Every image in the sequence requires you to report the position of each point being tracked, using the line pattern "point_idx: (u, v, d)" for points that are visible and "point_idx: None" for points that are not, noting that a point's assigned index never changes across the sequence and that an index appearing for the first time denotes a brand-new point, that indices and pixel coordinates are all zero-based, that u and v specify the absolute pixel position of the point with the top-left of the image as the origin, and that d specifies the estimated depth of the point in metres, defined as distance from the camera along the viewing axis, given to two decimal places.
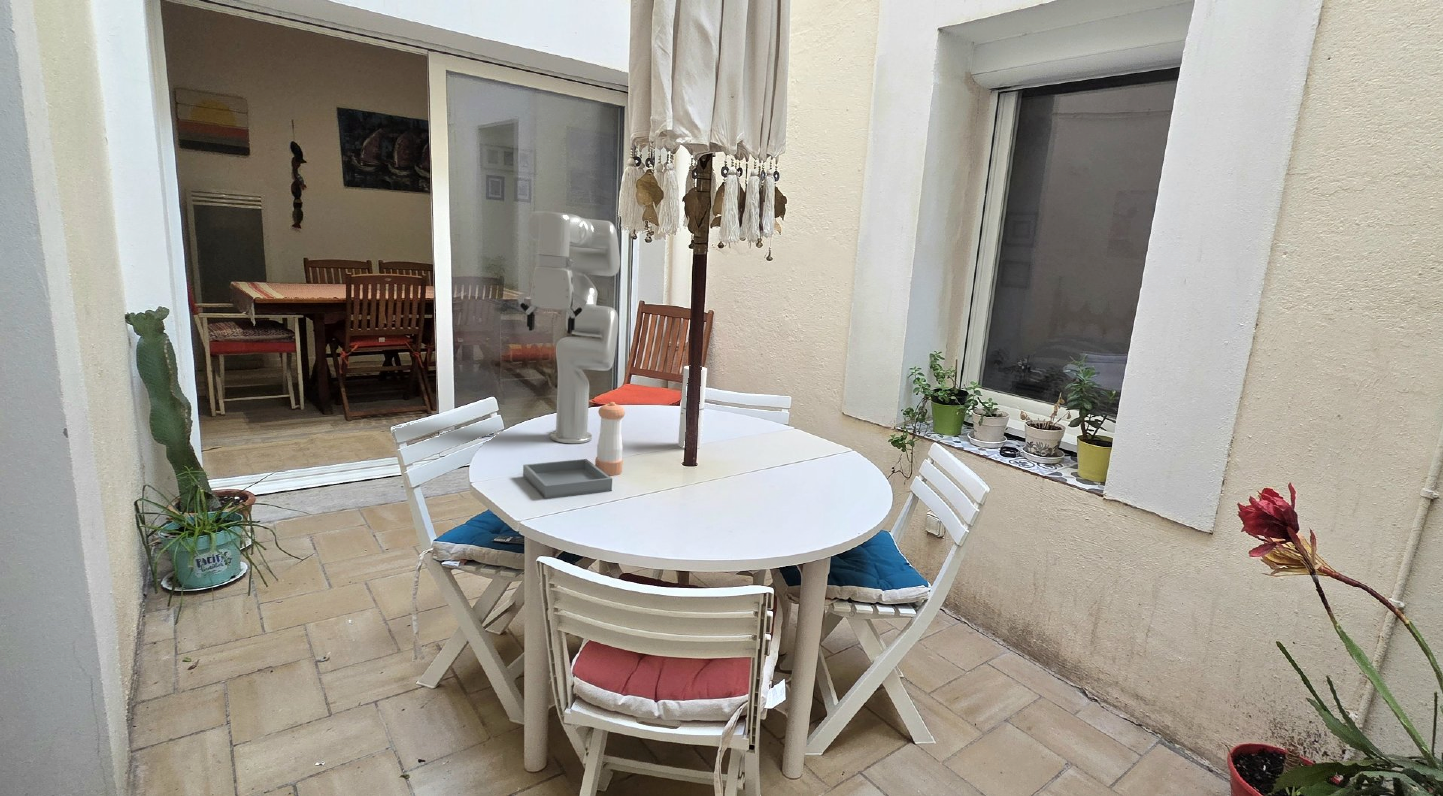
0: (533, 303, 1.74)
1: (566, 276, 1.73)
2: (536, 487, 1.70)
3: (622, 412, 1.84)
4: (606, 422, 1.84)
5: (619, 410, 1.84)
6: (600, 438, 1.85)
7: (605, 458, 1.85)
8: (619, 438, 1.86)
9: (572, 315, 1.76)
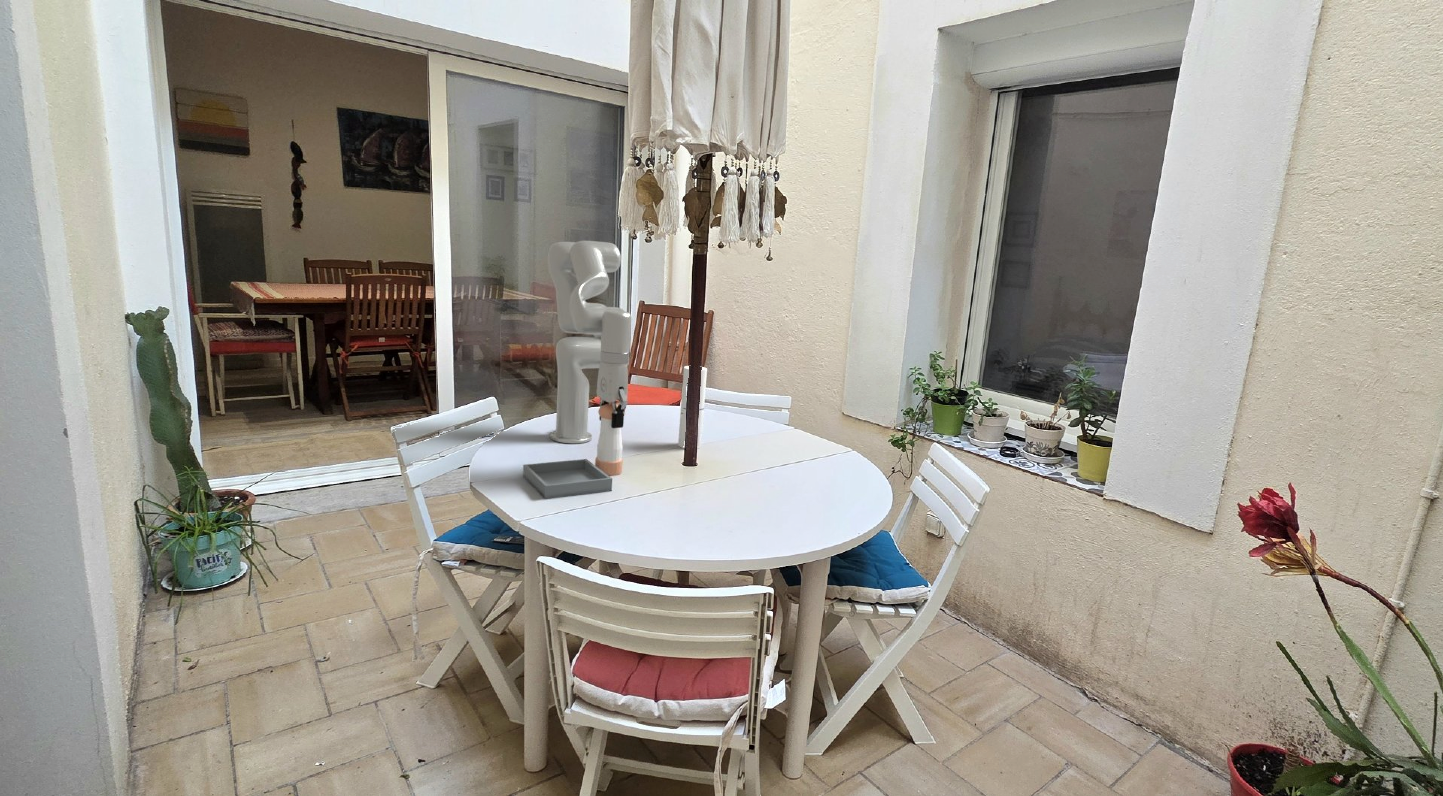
0: None
1: None
2: (536, 487, 1.70)
3: None
4: (606, 422, 1.84)
5: None
6: (600, 438, 1.85)
7: (605, 458, 1.85)
8: (619, 438, 1.86)
9: (609, 402, 1.90)
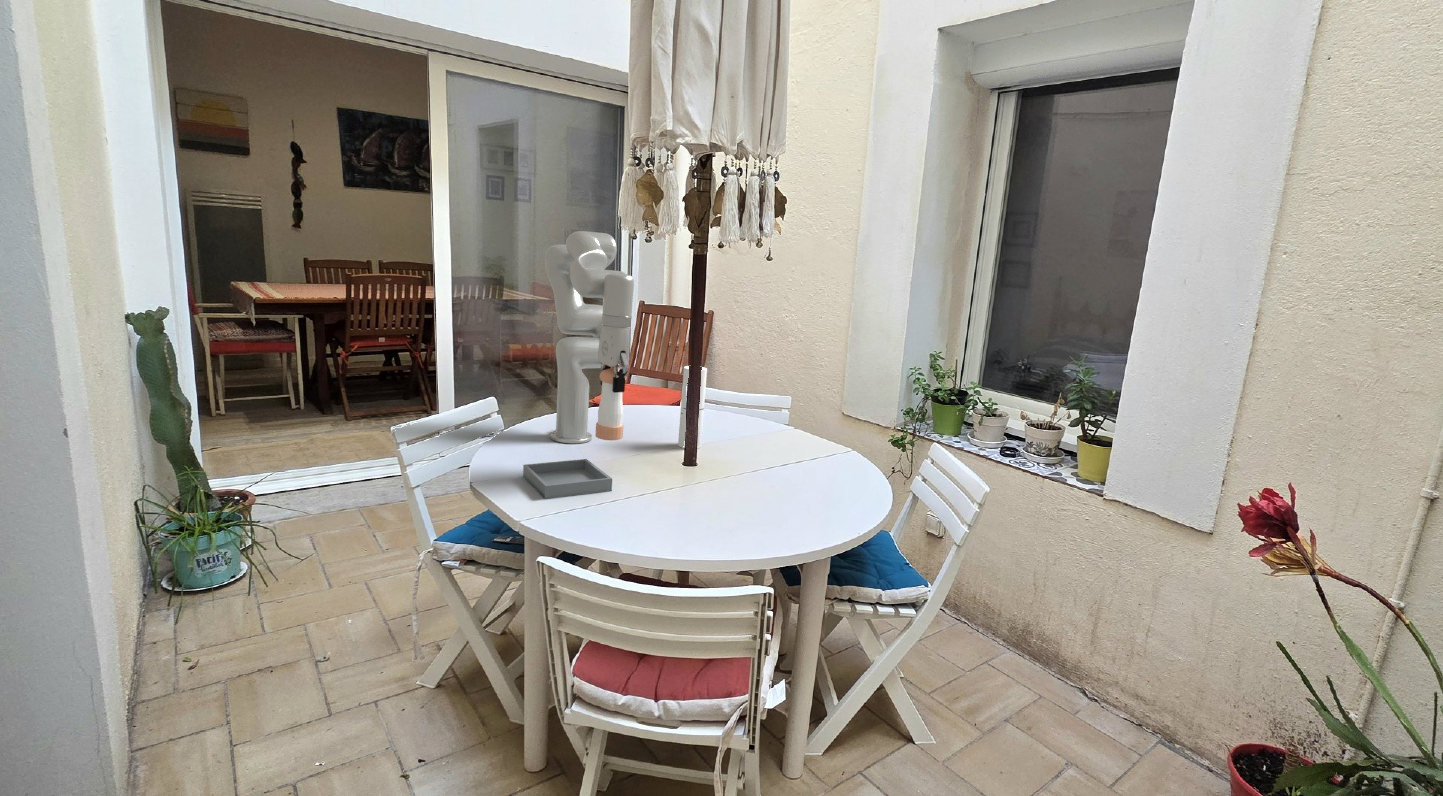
0: None
1: None
2: (536, 487, 1.70)
3: None
4: (607, 386, 1.82)
5: None
6: (601, 403, 1.84)
7: (606, 423, 1.84)
8: (620, 403, 1.85)
9: (610, 367, 1.88)
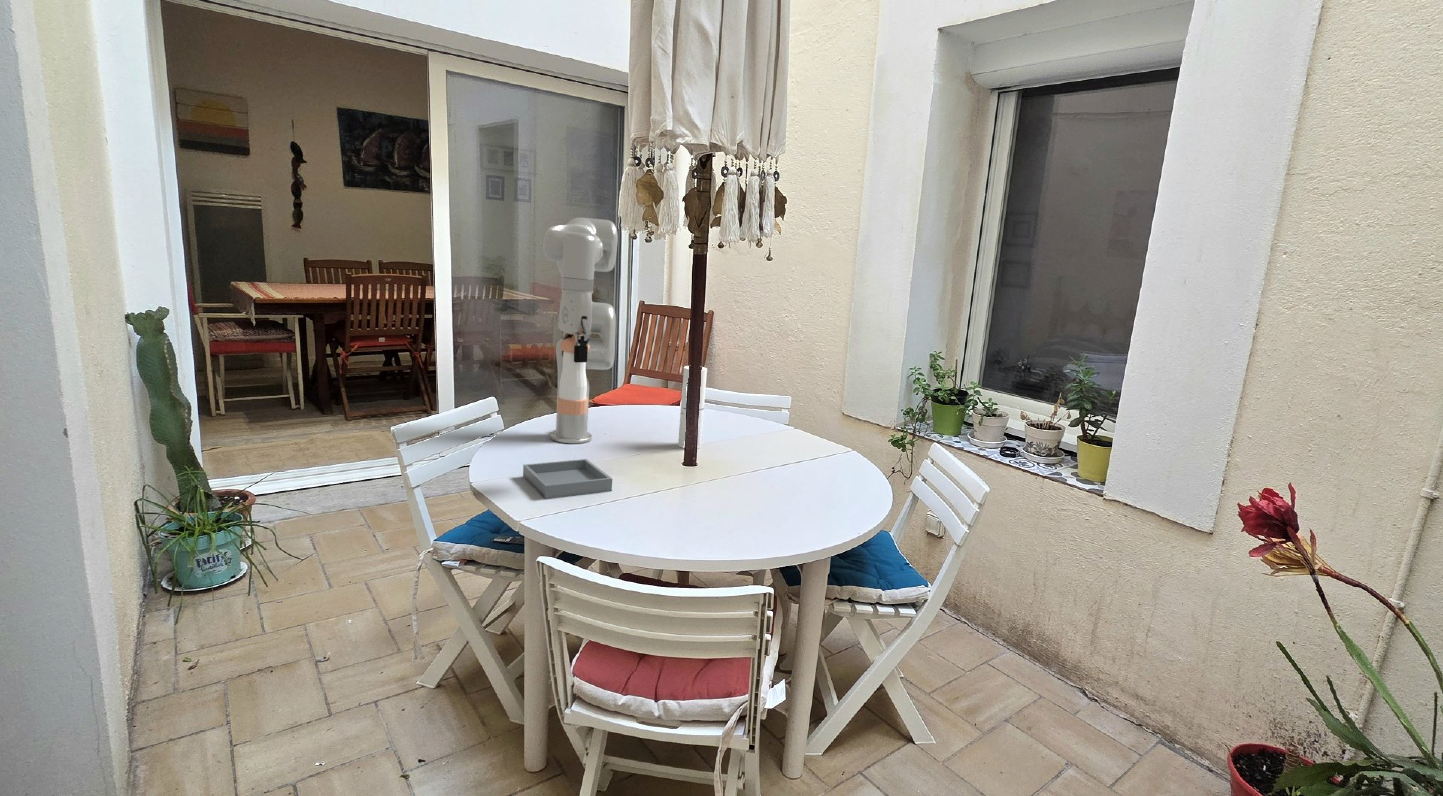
0: None
1: None
2: (536, 487, 1.70)
3: None
4: (569, 356, 1.68)
5: None
6: (562, 374, 1.70)
7: (568, 396, 1.69)
8: (583, 375, 1.70)
9: None
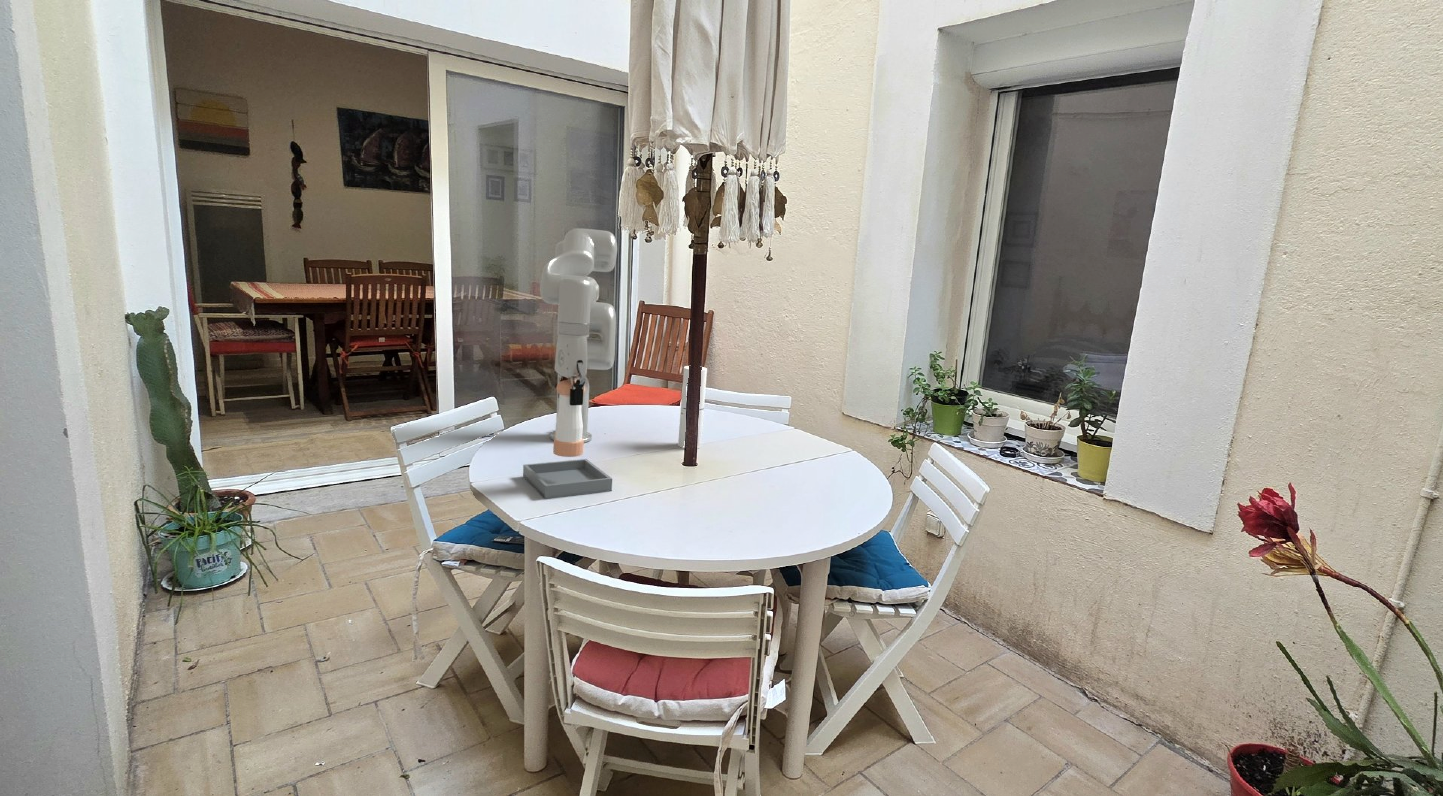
0: None
1: None
2: (536, 487, 1.70)
3: None
4: (564, 399, 1.69)
5: None
6: (558, 417, 1.71)
7: (564, 438, 1.71)
8: (579, 417, 1.72)
9: None
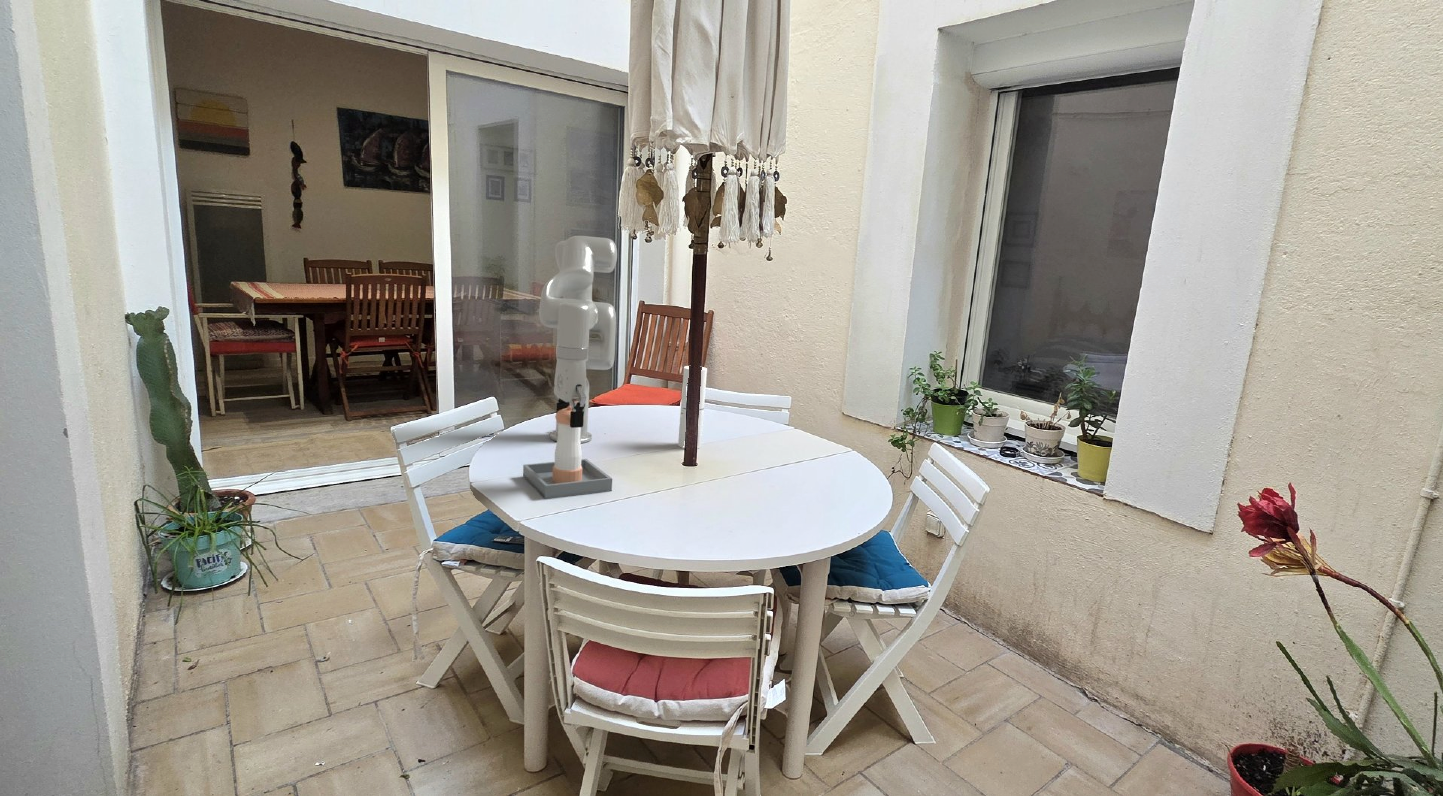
0: None
1: None
2: (536, 487, 1.70)
3: None
4: (563, 428, 1.71)
5: None
6: (557, 445, 1.73)
7: (563, 466, 1.73)
8: (578, 445, 1.74)
9: None
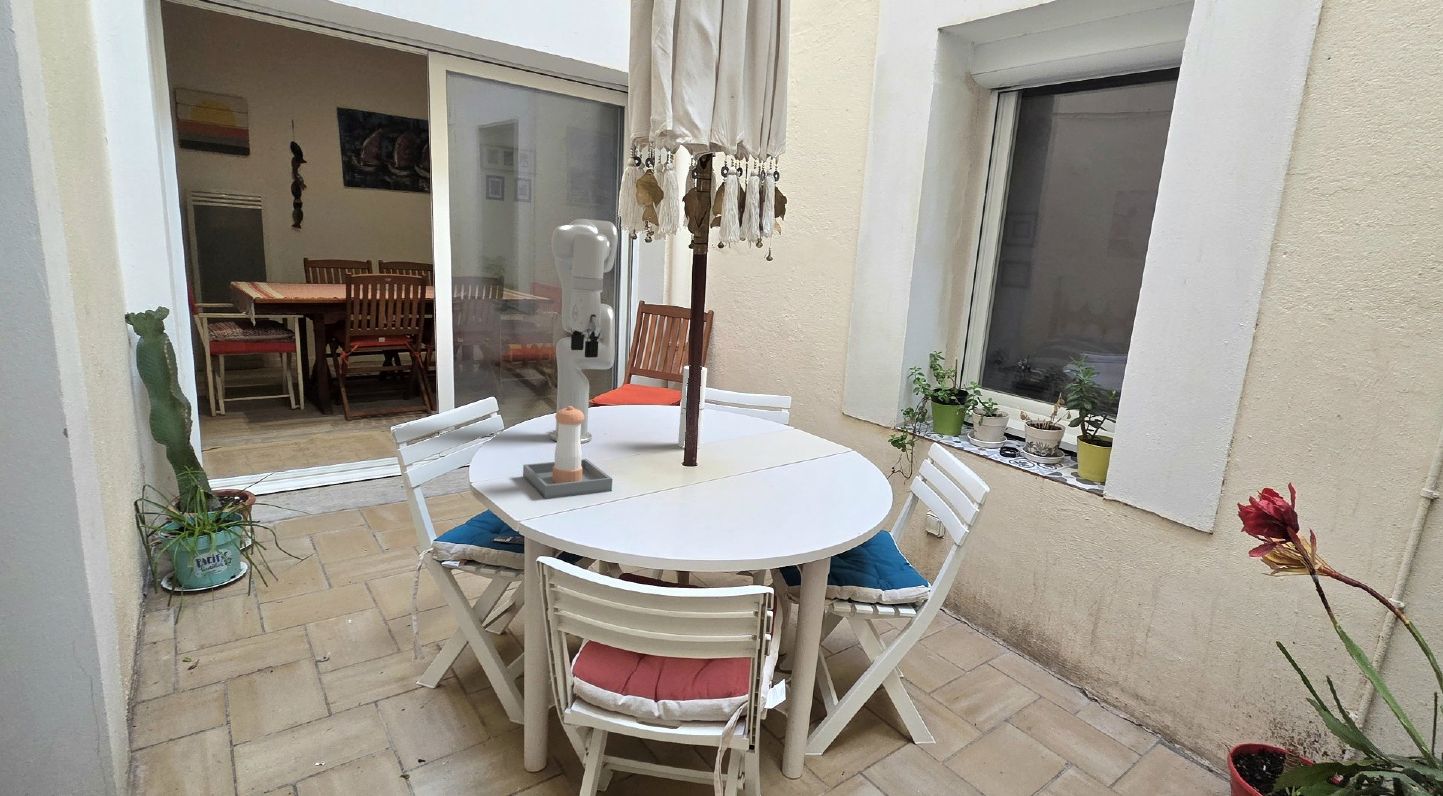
0: None
1: None
2: (536, 487, 1.70)
3: (581, 417, 1.72)
4: (564, 427, 1.71)
5: (577, 415, 1.71)
6: (557, 445, 1.73)
7: (563, 466, 1.73)
8: (578, 445, 1.74)
9: (581, 331, 1.80)
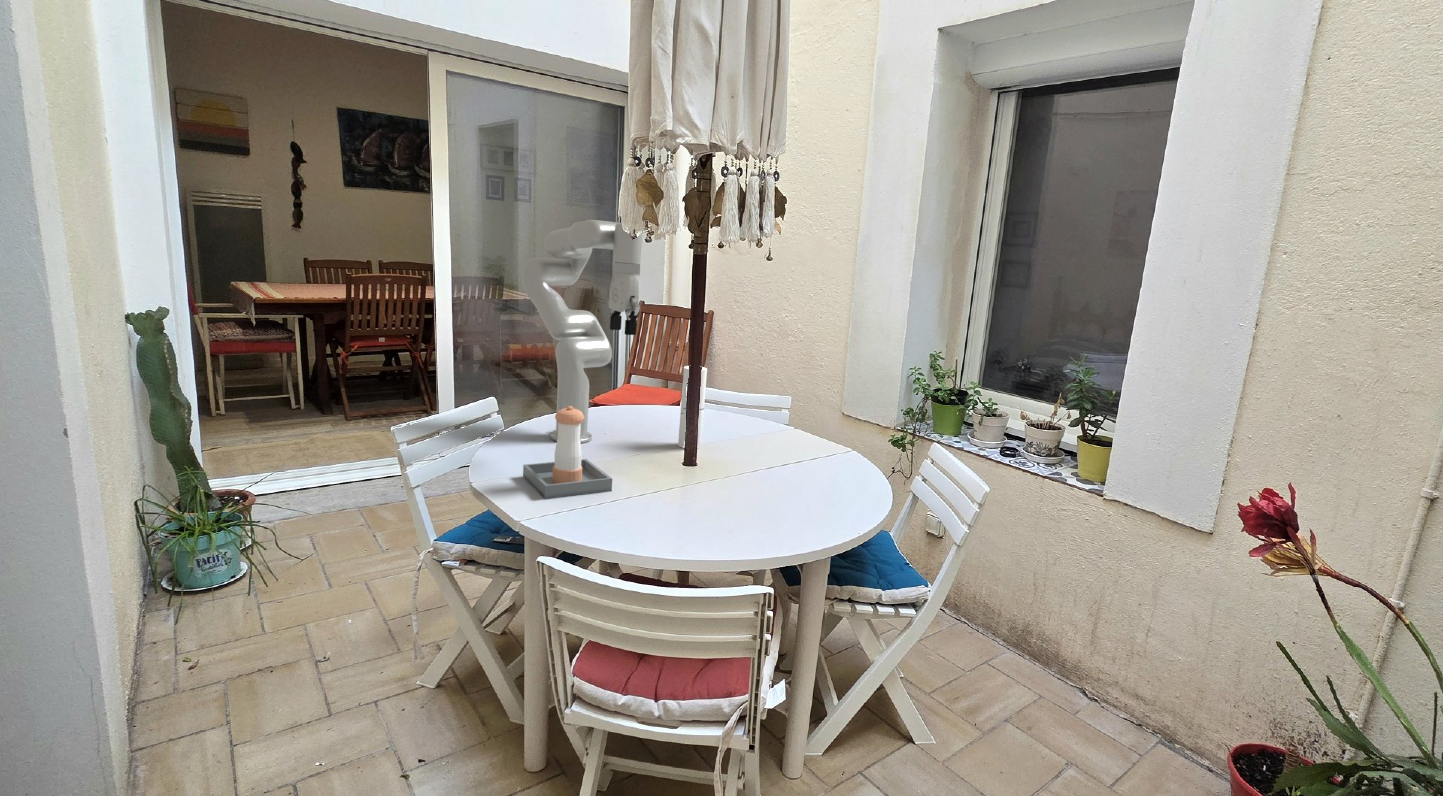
0: None
1: None
2: (536, 487, 1.70)
3: (581, 417, 1.72)
4: (563, 428, 1.71)
5: (577, 415, 1.71)
6: (557, 445, 1.73)
7: (563, 466, 1.73)
8: (578, 445, 1.74)
9: None
